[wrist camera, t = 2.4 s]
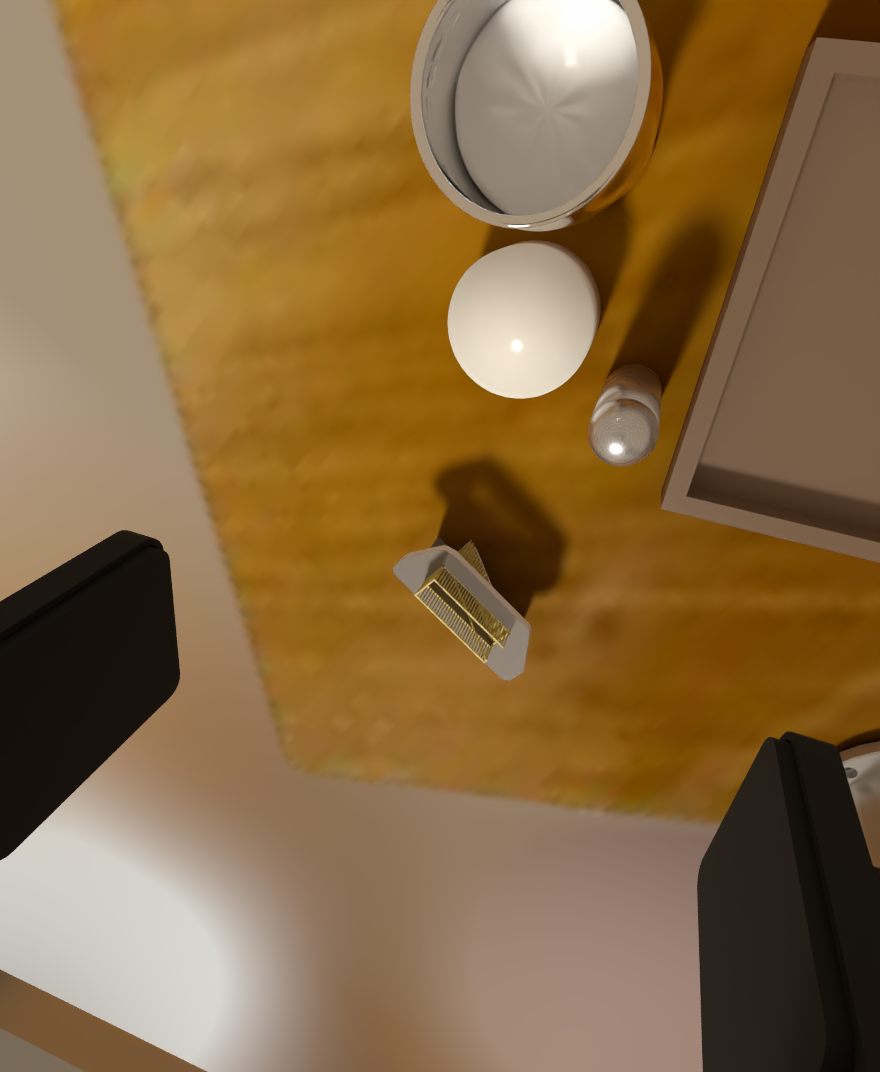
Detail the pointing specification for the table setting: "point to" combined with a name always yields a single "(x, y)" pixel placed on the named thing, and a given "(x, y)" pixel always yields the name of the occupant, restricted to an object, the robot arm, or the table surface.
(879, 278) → the tray
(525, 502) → the table surface
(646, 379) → the salt shaker
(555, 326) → the white rounded cylinder
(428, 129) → the silver metal tumbler
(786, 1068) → the robot arm
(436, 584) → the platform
